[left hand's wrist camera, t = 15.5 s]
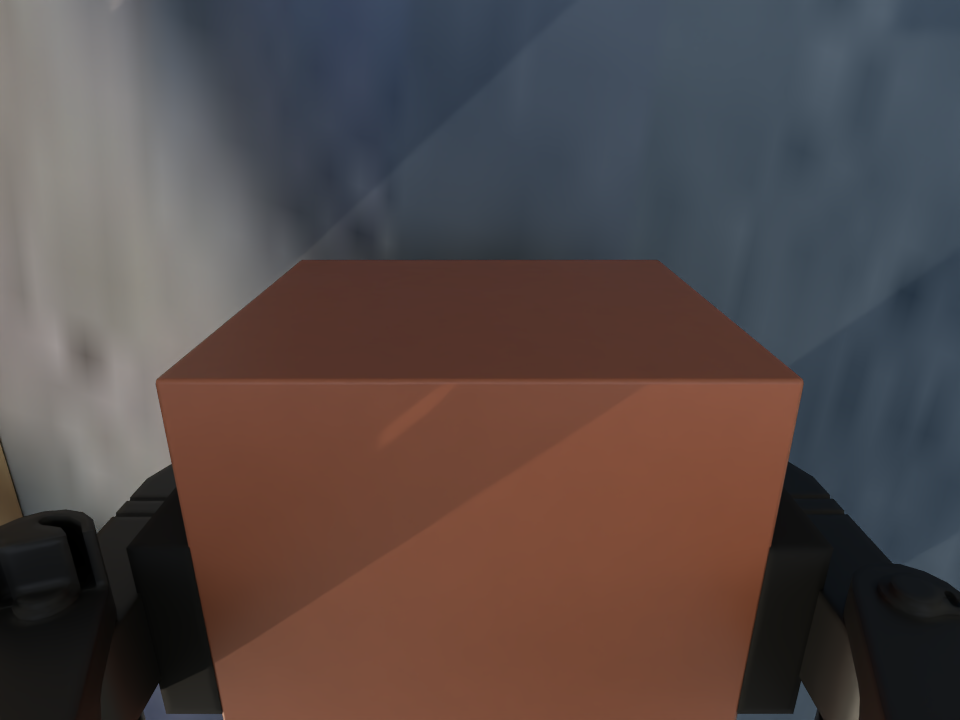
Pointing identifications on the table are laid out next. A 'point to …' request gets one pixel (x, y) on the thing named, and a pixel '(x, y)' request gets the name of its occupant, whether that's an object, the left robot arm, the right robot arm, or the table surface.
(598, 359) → the terracotta cube
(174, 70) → the table surface
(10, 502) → the stand
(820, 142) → the table surface
